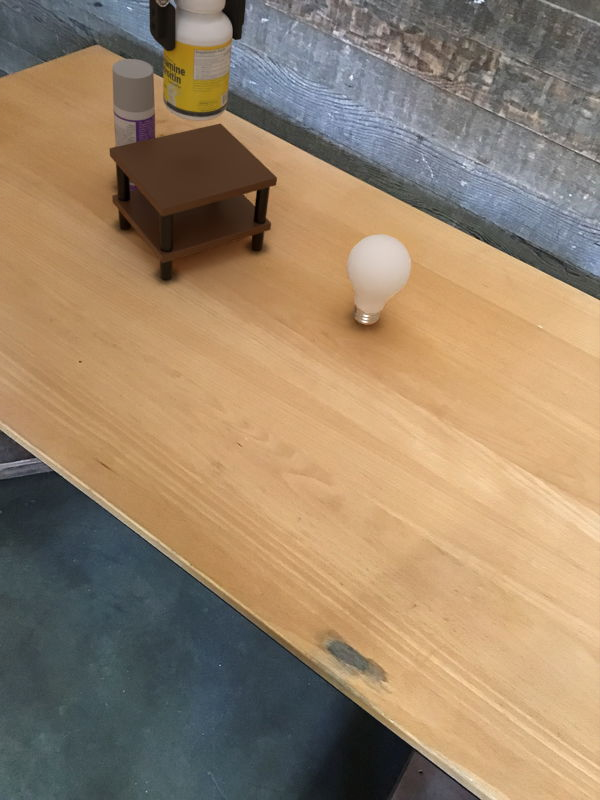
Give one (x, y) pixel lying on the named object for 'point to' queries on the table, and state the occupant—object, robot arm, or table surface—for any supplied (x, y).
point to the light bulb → (376, 274)
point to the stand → (191, 192)
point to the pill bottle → (198, 61)
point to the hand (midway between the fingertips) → (197, 37)
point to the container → (133, 102)
